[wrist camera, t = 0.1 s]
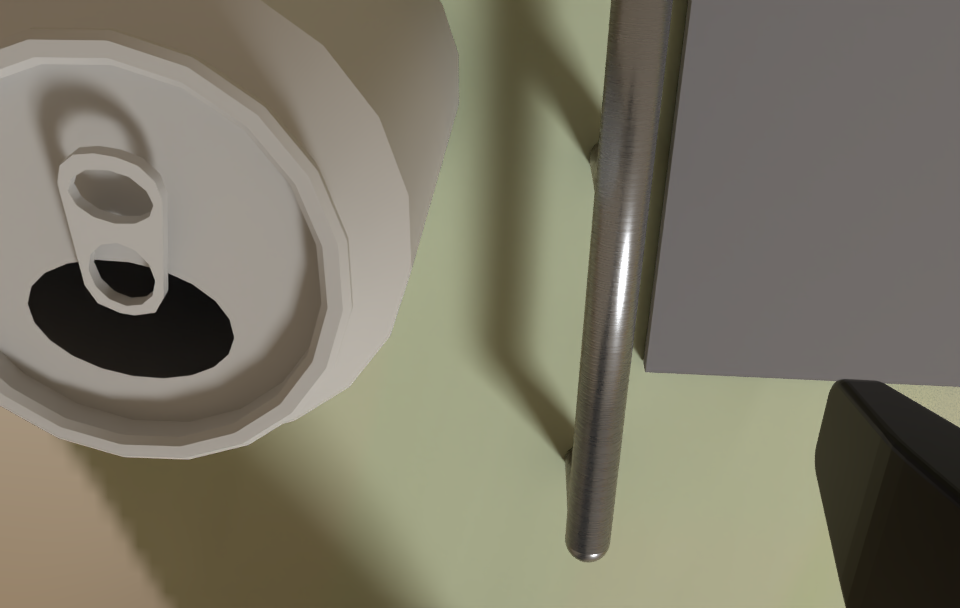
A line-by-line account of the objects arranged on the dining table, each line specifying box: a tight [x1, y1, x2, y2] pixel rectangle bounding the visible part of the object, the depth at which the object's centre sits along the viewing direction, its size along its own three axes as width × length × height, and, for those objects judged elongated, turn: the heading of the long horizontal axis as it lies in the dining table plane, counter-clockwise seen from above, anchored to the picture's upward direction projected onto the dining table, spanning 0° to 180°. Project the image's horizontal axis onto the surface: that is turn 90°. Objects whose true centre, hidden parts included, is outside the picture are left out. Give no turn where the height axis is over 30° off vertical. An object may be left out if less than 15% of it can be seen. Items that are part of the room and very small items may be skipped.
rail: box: [565, 0, 673, 562], centre depth 21 cm, size 20×13×4 cm, turn 179°
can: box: [0, 0, 459, 459], centre depth 17 cm, size 8×8×12 cm
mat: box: [644, 0, 960, 387], centre depth 22 cm, size 14×12×1 cm
